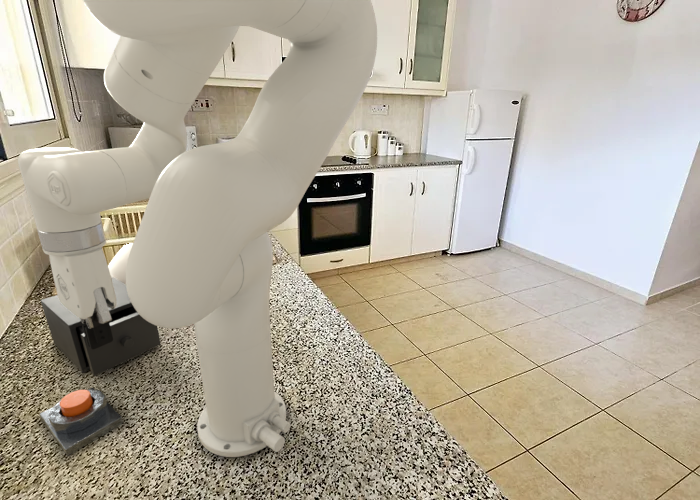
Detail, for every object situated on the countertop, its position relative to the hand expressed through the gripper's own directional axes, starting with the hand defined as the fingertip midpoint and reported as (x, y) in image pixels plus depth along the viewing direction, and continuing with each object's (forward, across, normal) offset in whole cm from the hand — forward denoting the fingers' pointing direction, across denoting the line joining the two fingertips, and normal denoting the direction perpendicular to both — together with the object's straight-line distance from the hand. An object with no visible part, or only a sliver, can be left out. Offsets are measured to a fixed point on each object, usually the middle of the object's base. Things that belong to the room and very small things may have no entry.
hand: (100, 343), depth 60 cm
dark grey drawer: (+6, -7, +4) cm, 11 cm away
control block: (+7, +6, -6) cm, 12 cm away
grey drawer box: (+7, -12, +4) cm, 15 cm away
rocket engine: (+8, -31, +14) cm, 35 cm away
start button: (+5, +6, -6) cm, 10 cm away
